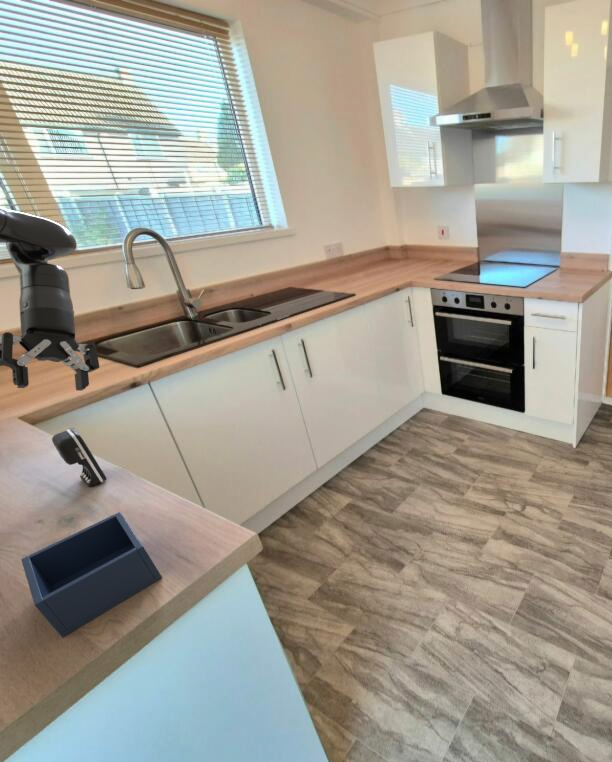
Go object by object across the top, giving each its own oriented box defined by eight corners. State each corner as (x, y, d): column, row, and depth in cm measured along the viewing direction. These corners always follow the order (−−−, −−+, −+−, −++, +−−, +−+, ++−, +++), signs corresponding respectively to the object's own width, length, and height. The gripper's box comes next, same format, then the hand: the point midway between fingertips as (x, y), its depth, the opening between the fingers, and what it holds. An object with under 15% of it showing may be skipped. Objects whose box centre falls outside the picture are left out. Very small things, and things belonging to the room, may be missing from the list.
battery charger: (75, 479, 90) (46, 434, 85) (98, 469, 93) (71, 425, 88) (85, 491, 86) (54, 444, 81) (108, 480, 89) (80, 435, 84)
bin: (62, 637, 58) (34, 605, 55) (46, 590, 65) (20, 559, 62) (162, 577, 66) (143, 546, 63) (138, 541, 73) (120, 511, 70)
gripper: (81, 326, 96) (88, 395, 93) (-14, 312, 82) (-10, 392, 80) (101, 314, 93) (108, 385, 90) (6, 297, 80) (11, 379, 77)
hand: (53, 388), depth 85 cm, fingers open, 8 cm apart
